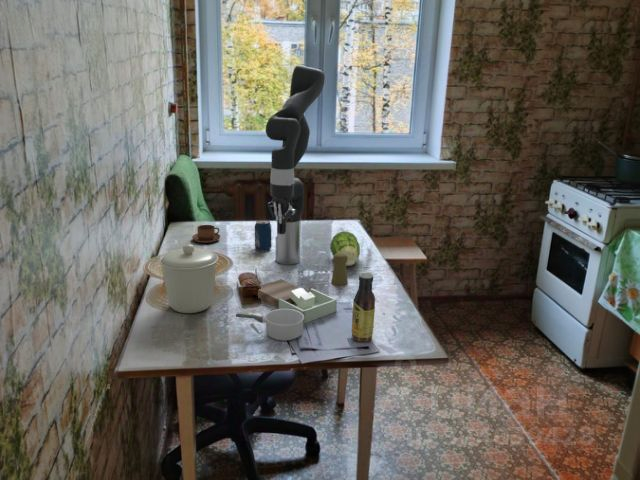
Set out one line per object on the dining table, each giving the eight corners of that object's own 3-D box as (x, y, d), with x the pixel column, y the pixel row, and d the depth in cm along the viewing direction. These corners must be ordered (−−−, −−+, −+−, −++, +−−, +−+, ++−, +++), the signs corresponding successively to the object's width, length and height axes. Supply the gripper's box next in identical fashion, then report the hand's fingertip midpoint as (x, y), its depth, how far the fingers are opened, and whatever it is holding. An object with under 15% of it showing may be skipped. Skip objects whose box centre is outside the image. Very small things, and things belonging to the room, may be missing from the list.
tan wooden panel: (253, 295, 194) (253, 287, 193) (281, 286, 202) (281, 279, 201) (281, 309, 183) (281, 301, 183) (309, 300, 191) (309, 292, 190)
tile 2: (300, 295, 181) (305, 300, 179) (310, 291, 184) (315, 296, 182) (297, 306, 183) (301, 311, 182) (307, 302, 186) (312, 307, 185)
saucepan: (240, 322, 174) (240, 305, 172) (305, 326, 173) (306, 309, 171) (232, 340, 163) (231, 322, 162) (301, 344, 162) (302, 326, 160)
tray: (278, 310, 183) (278, 298, 182) (311, 299, 192) (311, 288, 191) (303, 323, 174) (303, 311, 173) (336, 311, 184) (336, 299, 182)
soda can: (273, 247, 243) (273, 220, 240) (268, 252, 237) (269, 224, 233) (257, 245, 244) (257, 218, 241) (252, 251, 238) (252, 223, 234)
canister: (157, 299, 188) (154, 238, 182) (212, 292, 195) (210, 233, 189) (166, 322, 172) (163, 256, 166) (225, 314, 179) (224, 250, 173)
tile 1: (289, 296, 185) (291, 290, 184) (299, 293, 188) (301, 287, 187) (297, 305, 183) (299, 299, 182) (308, 301, 186) (310, 295, 185)
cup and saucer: (206, 234, 258) (206, 221, 256) (226, 240, 251) (225, 226, 249) (186, 241, 248) (185, 227, 246) (205, 246, 242) (205, 232, 240)
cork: (346, 286, 204) (347, 257, 200) (329, 284, 205) (330, 256, 201) (349, 280, 209) (350, 252, 206) (332, 278, 210) (333, 250, 207)
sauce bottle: (349, 333, 169) (353, 270, 163) (370, 333, 170) (374, 270, 164) (352, 343, 163) (356, 278, 157) (374, 343, 164) (378, 278, 158)
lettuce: (333, 273, 216) (334, 244, 213) (328, 255, 236) (329, 228, 232) (363, 273, 217) (365, 245, 214) (356, 255, 237) (357, 229, 233)
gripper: (260, 179, 184) (260, 230, 189) (285, 187, 174) (284, 241, 180) (278, 176, 189) (278, 226, 194) (304, 184, 179) (303, 236, 185)
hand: (281, 233), depth 187 cm, fingers closed
